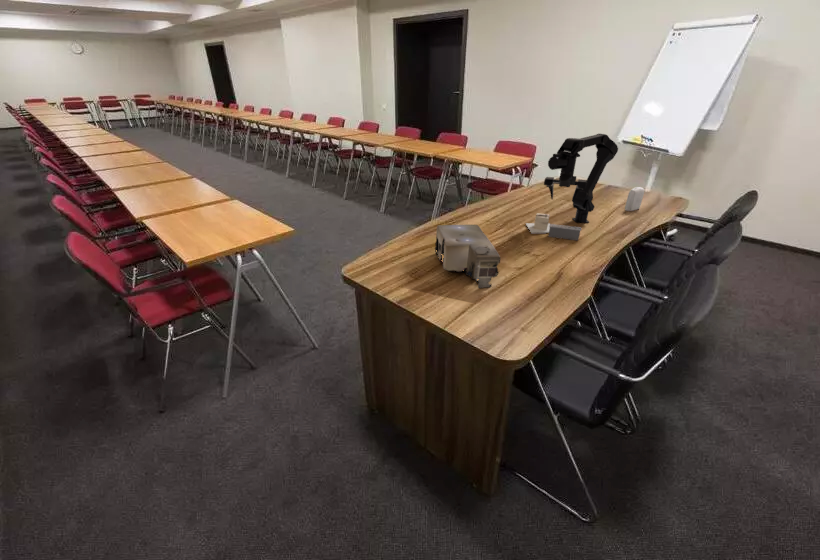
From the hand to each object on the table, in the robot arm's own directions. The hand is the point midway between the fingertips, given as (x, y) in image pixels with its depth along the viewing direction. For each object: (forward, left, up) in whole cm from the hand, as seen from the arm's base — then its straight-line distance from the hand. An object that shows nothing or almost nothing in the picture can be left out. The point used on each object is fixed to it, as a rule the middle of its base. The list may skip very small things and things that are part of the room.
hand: (562, 200), depth 183 cm
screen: (+16, -2, -13) cm, 21 cm away
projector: (+47, -49, -14) cm, 69 cm away
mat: (+4, -9, -13) cm, 17 cm away
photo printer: (-28, +49, -13) cm, 58 cm away
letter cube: (+4, -9, -12) cm, 16 cm away
